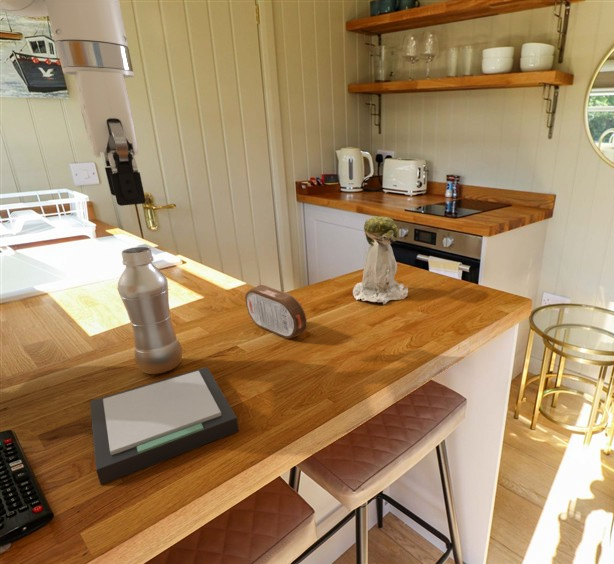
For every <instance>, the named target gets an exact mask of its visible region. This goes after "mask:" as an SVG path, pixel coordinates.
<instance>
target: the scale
mask: <svg viewBox="0 0 614 564" xmlns="http://www.w3.org/2000/svg"><path fill="white" fill-rule="evenodd" d="M89 405H90V406H89V408H90V418H91V429H92V440H93V450H94V451H93V453H94V463H95V471H96V474H97V478H98V481H99V485H100V486H103V485H105V484H108V483H110V482H112V481H114V480H119V479H120V478H123V477H125V476H128V475H131V474H133V473H136V472H139V471H141V470H144V469H146V468H149V467H151V466H154V465H157V464H159V463H162V462H163V461H166V460H170V459H172V458H175V457H177V456H179V455H182V454H184V453H187V452H190V451H192V450H194V449H198V448H199V447H202V446H205V445H207V444H210V443H212V442H215V441H218V440H220V439H223V438H226V437H228V436H230V435H232V434H235V433H238V432H239V423H238V418H237V415H236V414H235V412H234V410H233V409H232V406H231V405H230V403H229V401H228V399H227V397H226V396H225V395H224V393H223V391H222V389H221V388H220V386H219V384H218V382H217V380H216V379H215V377H214V375H213V374H212V372H211V370H210V369H209V366H205V367H201V368H198V369H194V370H191V371H188V372H184V373H180V374H177V375H174V376H170V377H167V378H164V379H163V378H162V379H161V380H157V381H153V382H150V383H146V384H143V385H140V386H137V387H133V388H130V389H125V390H122V391H120V392H116V393H111V394H108V395H106V396H102V397H98V398H96V399H92V400H89Z"/></svg>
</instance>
